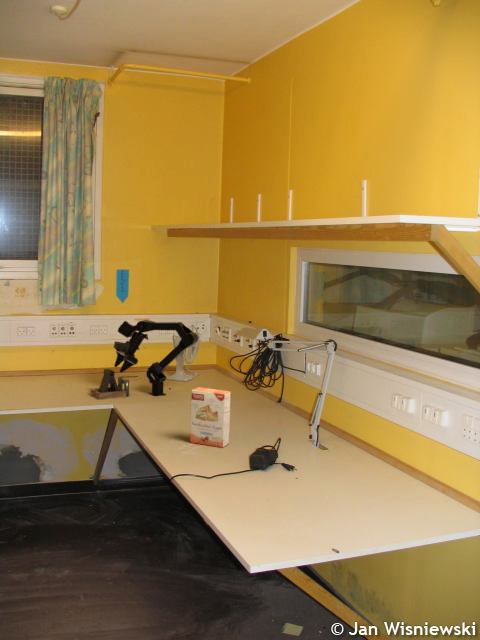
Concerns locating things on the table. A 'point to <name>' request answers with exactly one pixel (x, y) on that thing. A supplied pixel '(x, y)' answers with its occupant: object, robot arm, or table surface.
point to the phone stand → (108, 381)
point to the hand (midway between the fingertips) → (117, 369)
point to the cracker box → (210, 417)
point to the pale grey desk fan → (192, 349)
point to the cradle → (114, 394)
